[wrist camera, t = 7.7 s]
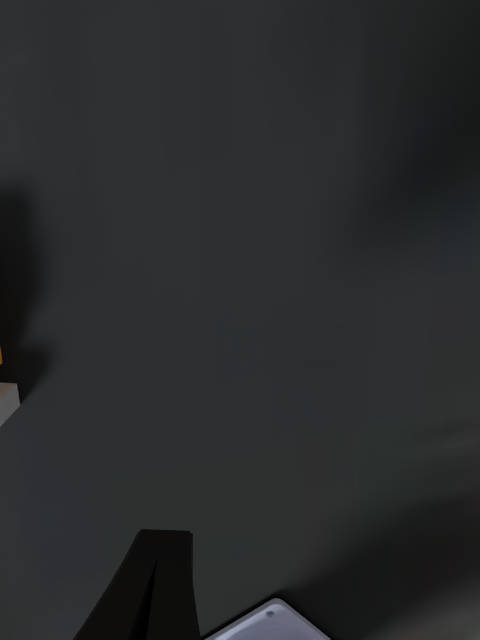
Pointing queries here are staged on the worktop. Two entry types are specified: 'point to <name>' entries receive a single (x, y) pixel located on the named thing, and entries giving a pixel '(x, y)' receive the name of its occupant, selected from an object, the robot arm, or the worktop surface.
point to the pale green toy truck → (8, 400)
